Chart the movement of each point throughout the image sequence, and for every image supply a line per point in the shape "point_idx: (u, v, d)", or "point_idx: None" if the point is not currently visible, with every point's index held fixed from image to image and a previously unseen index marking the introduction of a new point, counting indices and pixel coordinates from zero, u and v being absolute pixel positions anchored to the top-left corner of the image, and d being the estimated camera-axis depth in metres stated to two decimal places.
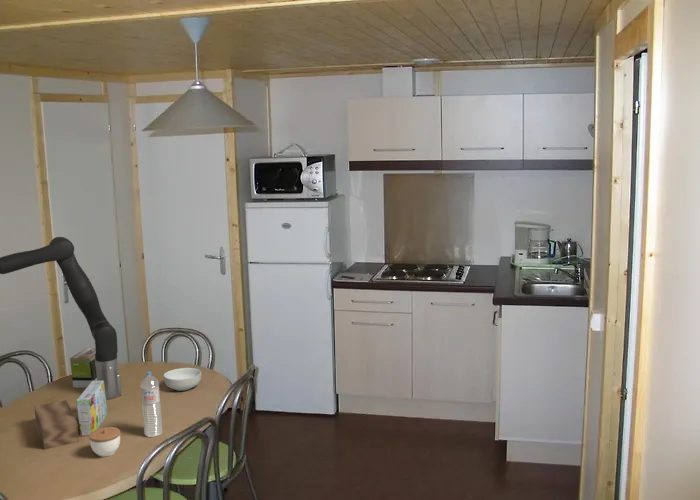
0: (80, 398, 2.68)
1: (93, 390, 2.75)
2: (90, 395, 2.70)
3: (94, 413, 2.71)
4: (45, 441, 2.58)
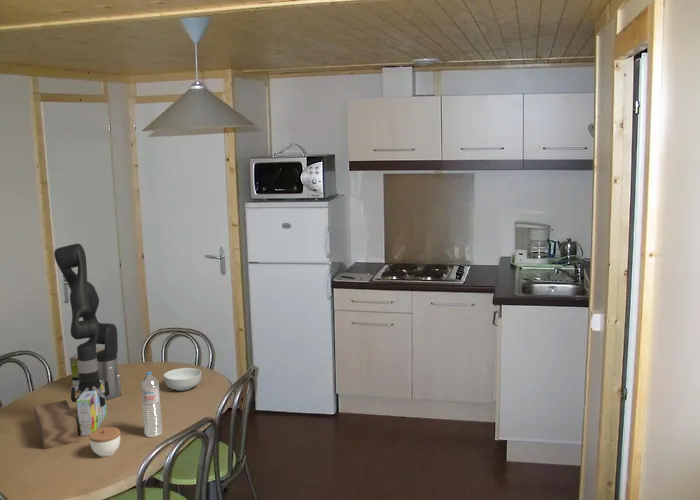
0: (80, 398, 2.68)
1: (93, 390, 2.75)
2: (90, 395, 2.70)
3: (94, 413, 2.71)
4: (45, 441, 2.58)
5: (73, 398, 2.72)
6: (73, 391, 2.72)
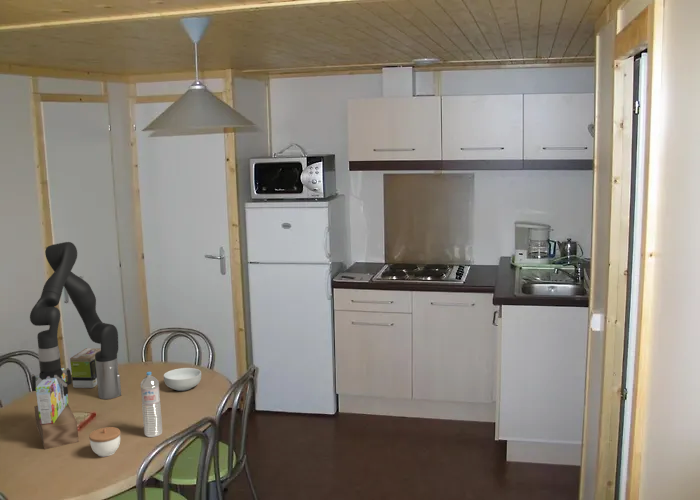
0: (39, 385, 2.59)
1: (53, 378, 2.67)
2: (50, 382, 2.62)
3: (54, 401, 2.63)
4: (45, 441, 2.58)
5: (34, 387, 2.64)
6: (34, 380, 2.64)
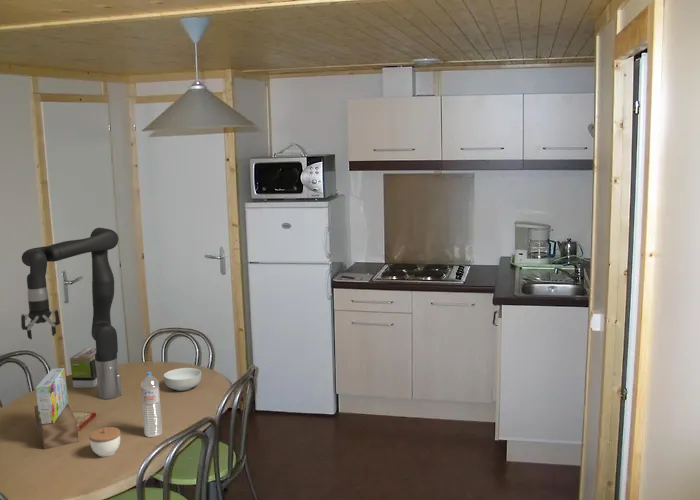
0: (39, 385, 2.59)
1: (53, 378, 2.67)
2: (50, 382, 2.62)
3: (54, 401, 2.62)
4: (45, 441, 2.58)
5: (23, 326, 2.78)
6: (23, 319, 2.78)
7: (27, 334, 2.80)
